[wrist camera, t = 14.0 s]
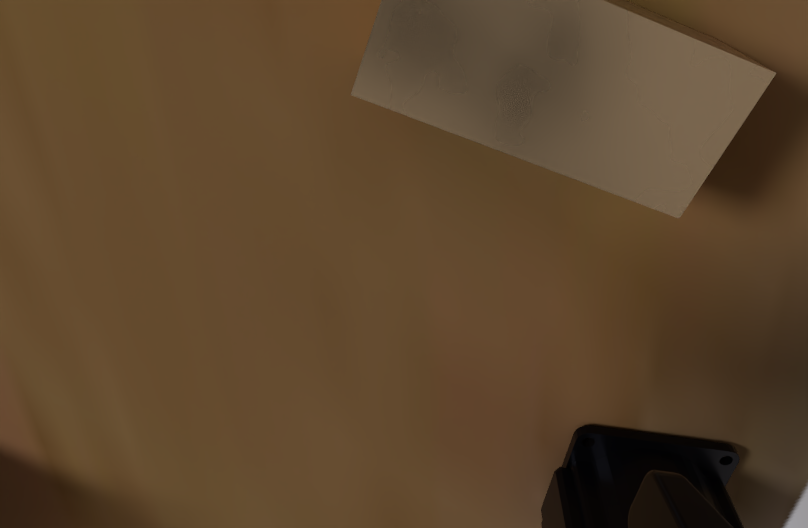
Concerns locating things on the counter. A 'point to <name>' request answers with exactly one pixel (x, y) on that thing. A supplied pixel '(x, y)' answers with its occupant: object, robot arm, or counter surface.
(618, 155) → the square bit
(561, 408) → the counter surface
